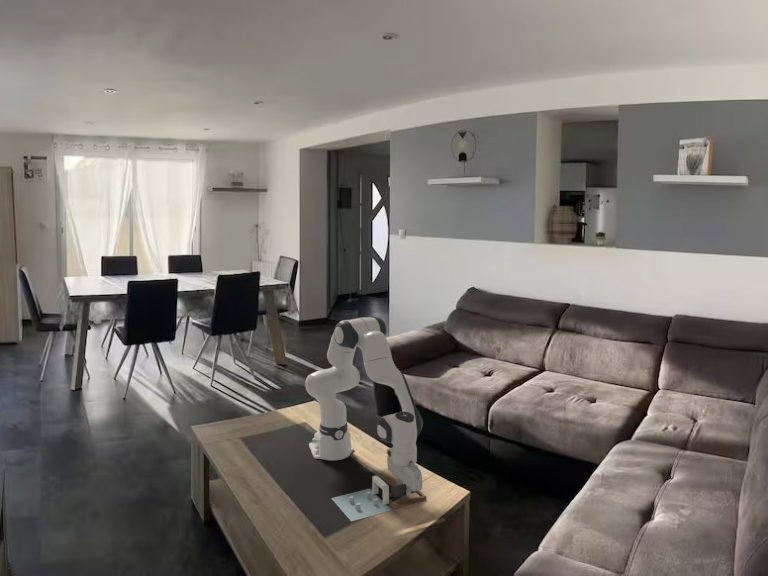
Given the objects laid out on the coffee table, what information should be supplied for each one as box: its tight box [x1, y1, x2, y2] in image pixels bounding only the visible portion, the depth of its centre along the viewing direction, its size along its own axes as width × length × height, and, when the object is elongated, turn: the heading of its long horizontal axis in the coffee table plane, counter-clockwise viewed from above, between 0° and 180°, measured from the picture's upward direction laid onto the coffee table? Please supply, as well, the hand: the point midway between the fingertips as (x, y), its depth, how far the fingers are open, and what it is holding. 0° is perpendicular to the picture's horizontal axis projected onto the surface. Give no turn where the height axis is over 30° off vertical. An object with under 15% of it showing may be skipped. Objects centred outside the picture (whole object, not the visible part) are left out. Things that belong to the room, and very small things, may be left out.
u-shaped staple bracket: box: [371, 474, 390, 505], centre depth 219 cm, size 10×2×7 cm, turn 28°
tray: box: [388, 490, 427, 509], centre depth 220 cm, size 9×14×2 cm, turn 118°
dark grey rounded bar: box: [390, 483, 417, 499], centre depth 219 cm, size 4×9×4 cm, turn 118°
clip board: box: [331, 488, 393, 522], centre depth 216 cm, size 18×16×3 cm
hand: (404, 491), depth 220 cm, fingers closed on dark grey rounded bar, 4 cm apart
